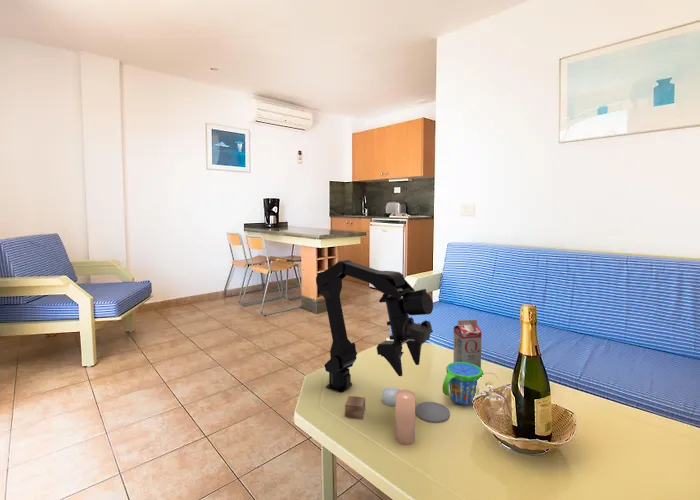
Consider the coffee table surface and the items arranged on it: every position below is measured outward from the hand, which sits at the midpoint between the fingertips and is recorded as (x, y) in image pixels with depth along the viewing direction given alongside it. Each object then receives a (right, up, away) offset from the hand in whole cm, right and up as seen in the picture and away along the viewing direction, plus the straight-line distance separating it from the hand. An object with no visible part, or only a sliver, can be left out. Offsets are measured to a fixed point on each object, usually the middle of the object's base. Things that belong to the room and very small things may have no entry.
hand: (409, 370), depth 102 cm
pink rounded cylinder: (-3, -15, -9) cm, 17 cm away
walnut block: (-15, -14, +3) cm, 21 cm away
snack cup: (+19, -13, +10) cm, 24 cm away
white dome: (-4, -13, +10) cm, 17 cm away
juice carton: (+23, -11, +20) cm, 33 cm away
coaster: (+7, -13, +3) cm, 15 cm away
